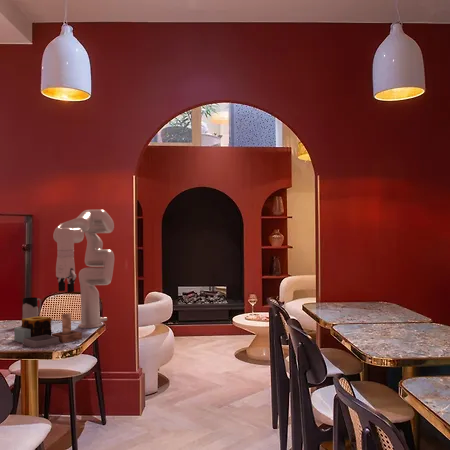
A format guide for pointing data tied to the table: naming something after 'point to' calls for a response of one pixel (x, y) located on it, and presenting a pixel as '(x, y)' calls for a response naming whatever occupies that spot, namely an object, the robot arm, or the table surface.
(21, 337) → the block
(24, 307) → the glass holder
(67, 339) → the socket block
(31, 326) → the candle
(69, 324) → the dowel
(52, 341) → the tray
